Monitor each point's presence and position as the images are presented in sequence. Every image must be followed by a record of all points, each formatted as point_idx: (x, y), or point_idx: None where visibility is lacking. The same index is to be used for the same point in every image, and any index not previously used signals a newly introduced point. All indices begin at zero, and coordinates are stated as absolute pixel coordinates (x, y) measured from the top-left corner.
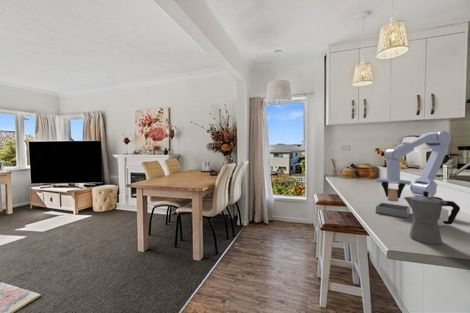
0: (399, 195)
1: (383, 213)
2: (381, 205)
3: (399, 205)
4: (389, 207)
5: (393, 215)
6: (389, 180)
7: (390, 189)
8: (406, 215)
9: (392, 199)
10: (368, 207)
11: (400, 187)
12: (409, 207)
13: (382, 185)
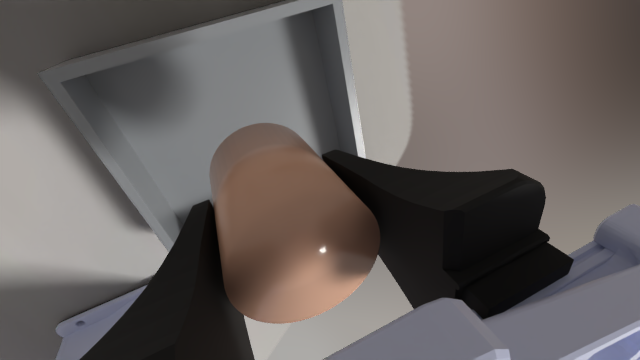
0: (187, 222)
1: (257, 8)
2: None
3: None
4: None
5: (177, 30)
6: (504, 346)
7: (324, 211)
8: (60, 64)
9: (245, 134)
10: (408, 121)
11: (137, 335)
12: (164, 245)
13: (490, 174)
